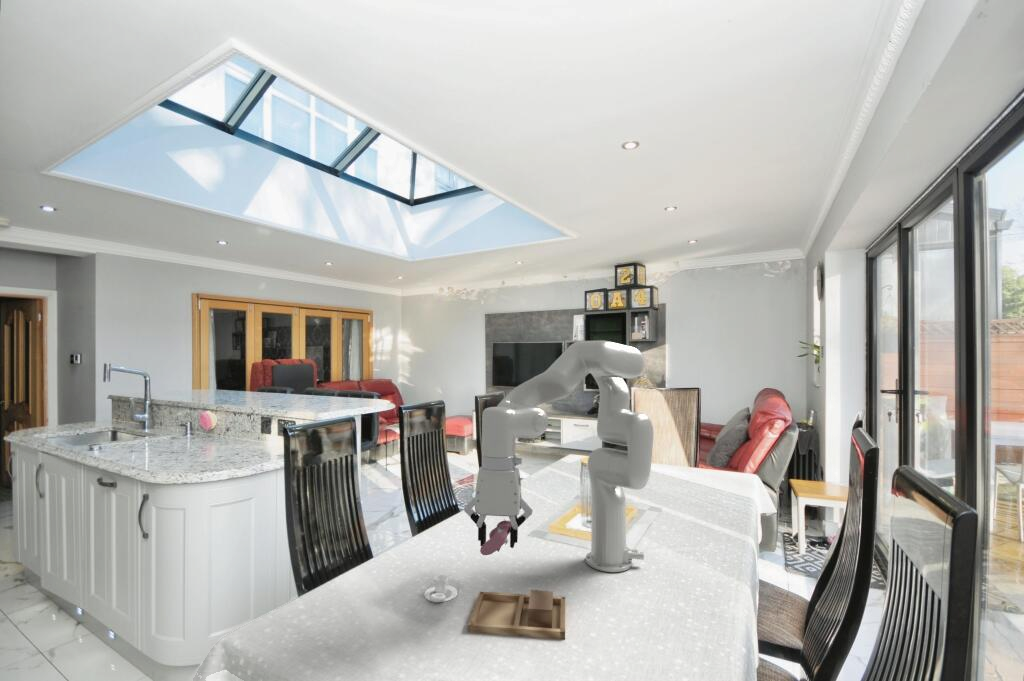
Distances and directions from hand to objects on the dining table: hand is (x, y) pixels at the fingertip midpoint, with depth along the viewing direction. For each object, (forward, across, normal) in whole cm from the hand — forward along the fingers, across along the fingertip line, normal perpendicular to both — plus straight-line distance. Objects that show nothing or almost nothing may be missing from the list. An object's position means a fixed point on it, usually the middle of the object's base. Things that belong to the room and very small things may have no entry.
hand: (497, 543), depth 104 cm
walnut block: (+15, -10, 0) cm, 18 cm away
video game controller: (+1, 0, 0) cm, 1 cm away
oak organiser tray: (+16, -5, 0) cm, 16 cm away
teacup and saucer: (+16, +18, -6) cm, 25 cm away
